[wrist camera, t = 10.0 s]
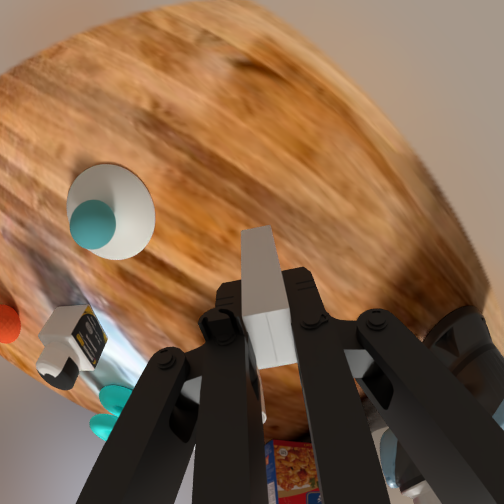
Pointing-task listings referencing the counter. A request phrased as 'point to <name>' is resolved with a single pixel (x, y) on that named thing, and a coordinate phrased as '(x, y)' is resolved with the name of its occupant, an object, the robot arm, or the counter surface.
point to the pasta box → (291, 473)
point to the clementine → (9, 324)
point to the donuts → (109, 409)
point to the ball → (92, 224)
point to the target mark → (117, 207)
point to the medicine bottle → (70, 345)
